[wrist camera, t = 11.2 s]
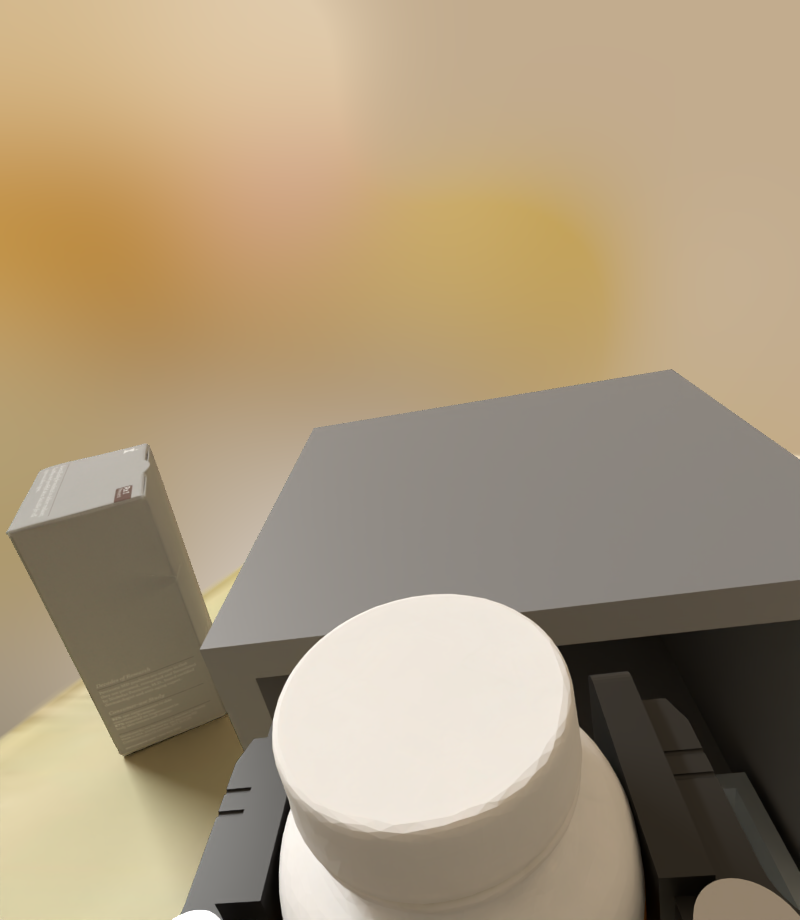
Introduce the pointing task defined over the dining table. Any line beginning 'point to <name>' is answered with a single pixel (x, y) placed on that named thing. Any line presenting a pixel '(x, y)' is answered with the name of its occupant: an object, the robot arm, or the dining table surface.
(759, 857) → the drawer
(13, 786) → the dining table surface
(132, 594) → the skincare box
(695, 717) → the cabinet
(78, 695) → the dining table surface
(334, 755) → the supplement bottle
